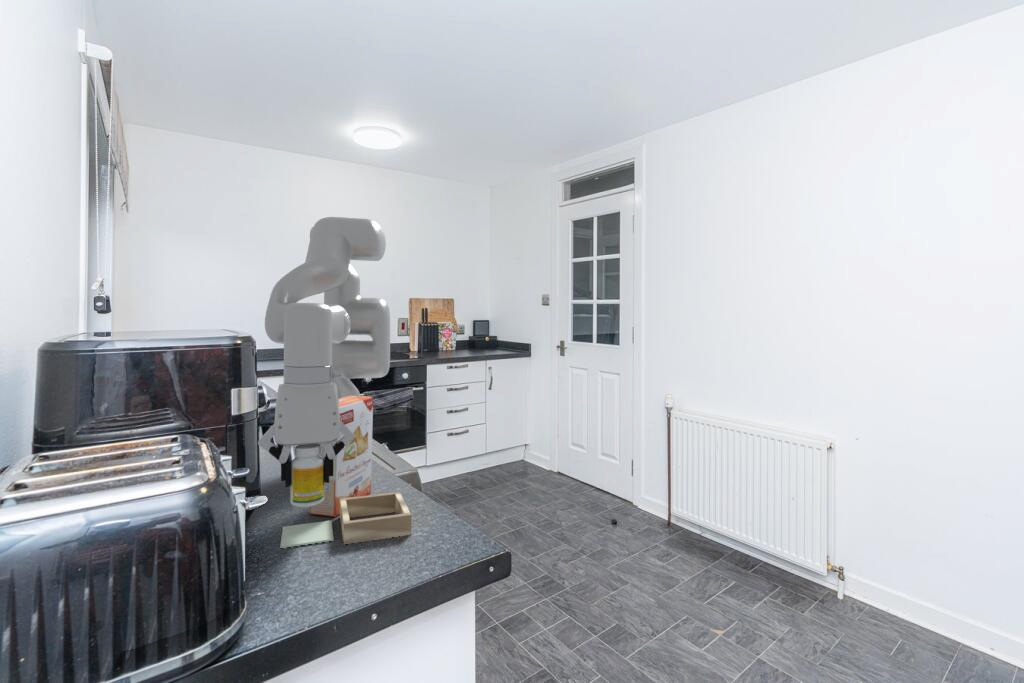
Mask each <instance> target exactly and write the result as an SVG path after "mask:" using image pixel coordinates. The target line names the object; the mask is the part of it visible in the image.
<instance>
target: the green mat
mask: <svg viewBox="0 0 1024 683" xmlns="http://www.w3.org/2000/svg"><path fill="white" fill-rule="evenodd" d="M329 541H332V542H334V531H333V521H332V520H324V521H316V522H309V523H307V522H306V523H299V524H294V525H293V524H291V525H287V526H286V525H285V526H282V532H281V539H280V547H279V549H280V548H284V549H288V548H287V547H291V548H293V547H292V546H298V547H301V546H300V545H305V546H309V545H308V544H312V545H316V544H315V543H318V544H323V543H322V542H325V543H330V542H329Z"/></svg>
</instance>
